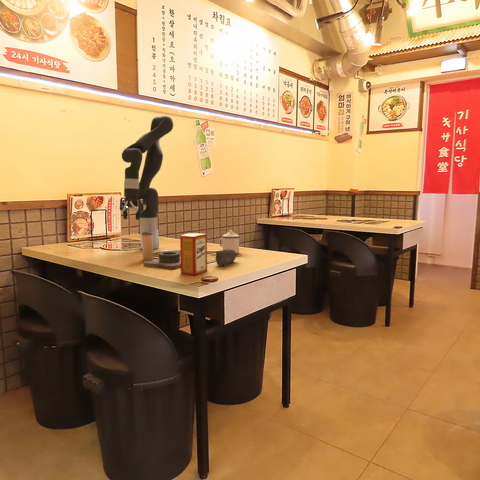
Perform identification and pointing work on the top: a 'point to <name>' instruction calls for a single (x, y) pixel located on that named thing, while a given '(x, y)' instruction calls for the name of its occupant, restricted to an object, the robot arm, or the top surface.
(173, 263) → the socket board
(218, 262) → the perforated stone tool
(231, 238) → the teacup with lid
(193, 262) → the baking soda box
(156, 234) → the robot arm
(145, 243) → the tan cylinder
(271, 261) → the top surface
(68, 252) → the top surface
